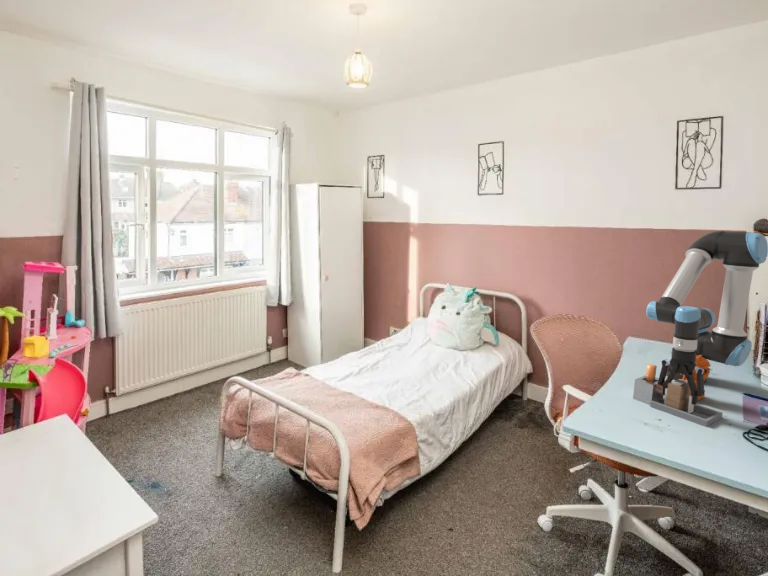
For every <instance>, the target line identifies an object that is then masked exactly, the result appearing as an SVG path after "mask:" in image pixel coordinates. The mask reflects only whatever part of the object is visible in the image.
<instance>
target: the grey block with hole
mask: <svg viewBox="0 0 768 576" xmlns="http://www.w3.org/2000/svg"><path fill="white" fill-rule="evenodd" d="M645 379H646V374H645V375H643V376H641V377H637V378H635V379H634V385H633V394H632V399H633V400H635V399H636V401H639V402H642V403H643V404H646V405H649V406H650V403H651V401H655V402H658V403H660V402H661V401H664V397H665V396H664V395H663V394H662V392H663V386H661V385H659V384H658V380H659V377H656V376H655V382H649V381H646V380H645ZM665 381H666V380H665ZM665 381H664V382H665Z"/></svg>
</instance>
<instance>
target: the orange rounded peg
mask: <svg viewBox="0 0 768 576" xmlns="http://www.w3.org/2000/svg"><path fill="white" fill-rule="evenodd" d="M656 374H657V365H655V364H653V363H652V364H650V363H648V364H647V365H646V371H645V375H646V379H645V380H646V381H649V382H655V377H656Z"/></svg>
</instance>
